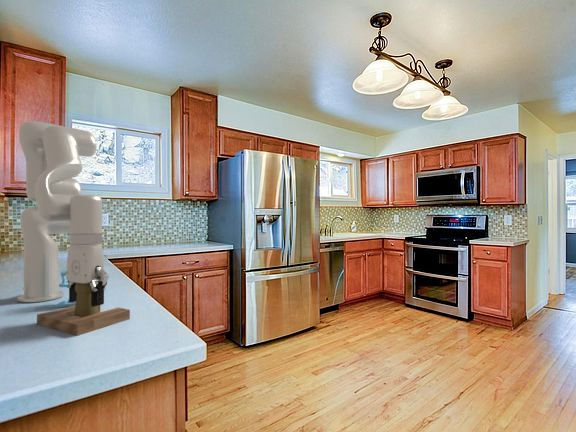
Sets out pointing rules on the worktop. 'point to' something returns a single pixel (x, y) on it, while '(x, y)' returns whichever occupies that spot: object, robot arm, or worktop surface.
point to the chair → (65, 284)
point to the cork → (84, 300)
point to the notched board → (81, 319)
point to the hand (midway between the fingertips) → (86, 303)
